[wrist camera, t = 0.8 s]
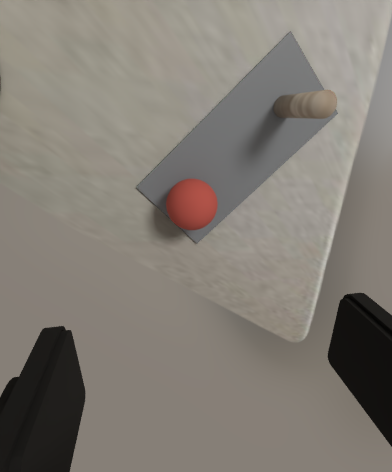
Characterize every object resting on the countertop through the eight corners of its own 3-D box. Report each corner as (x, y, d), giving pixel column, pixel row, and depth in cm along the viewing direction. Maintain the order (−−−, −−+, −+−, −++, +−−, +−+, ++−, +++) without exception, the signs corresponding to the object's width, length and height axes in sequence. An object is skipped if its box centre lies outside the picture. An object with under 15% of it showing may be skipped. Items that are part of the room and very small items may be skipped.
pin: (271, 117, 34) (310, 118, 26) (274, 94, 33) (315, 89, 25) (289, 118, 34) (333, 119, 26) (293, 96, 33) (339, 90, 25)
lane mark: (196, 243, 38) (196, 243, 38) (136, 186, 34) (136, 187, 34) (336, 113, 35) (337, 113, 35) (289, 31, 30) (290, 31, 30)
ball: (164, 220, 36) (168, 239, 31) (164, 173, 34) (168, 185, 28) (209, 219, 37) (221, 237, 32) (212, 174, 35) (225, 185, 30)
